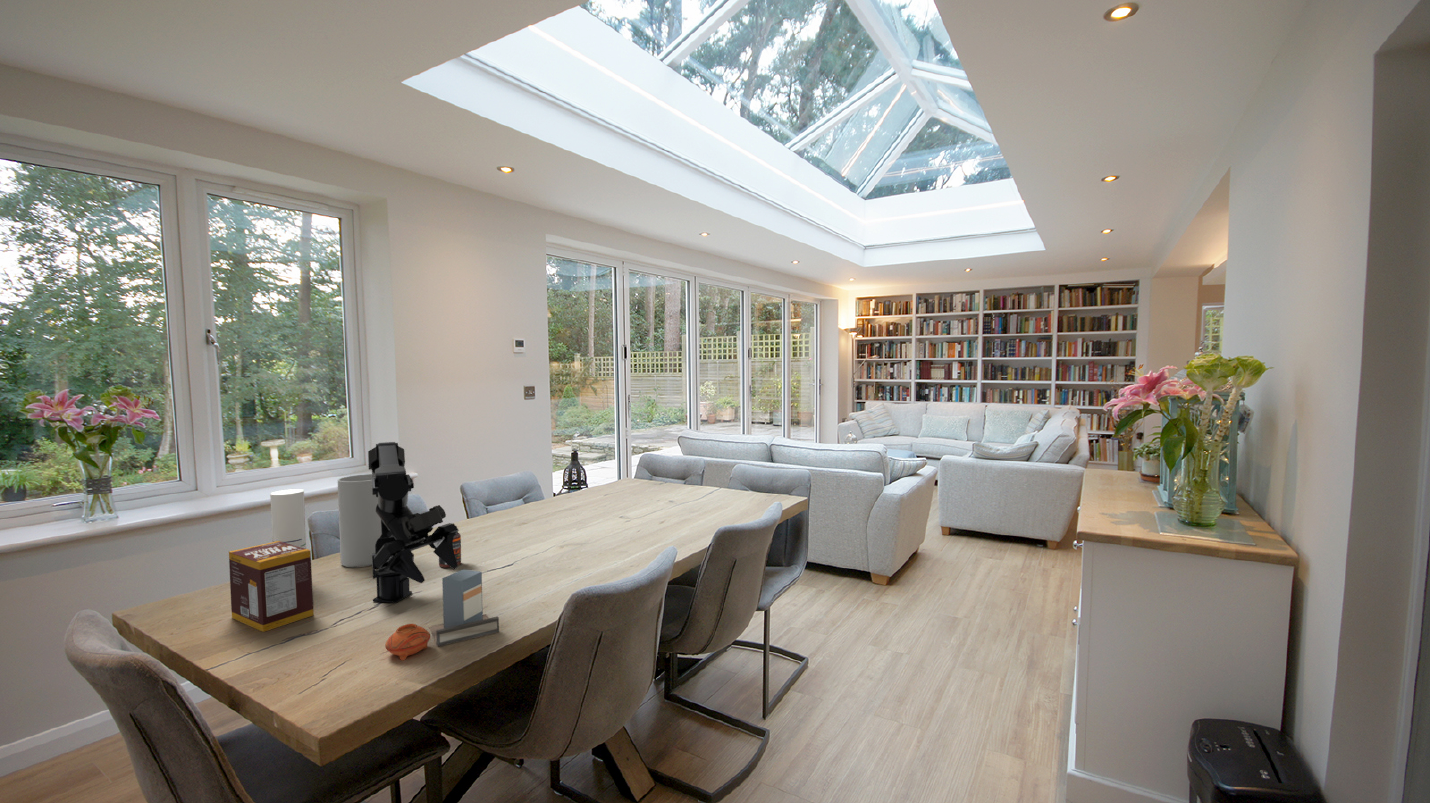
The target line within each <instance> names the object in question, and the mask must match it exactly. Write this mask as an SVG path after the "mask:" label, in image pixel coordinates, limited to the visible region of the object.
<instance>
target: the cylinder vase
mask: <svg viewBox="0 0 1430 803" xmlns="http://www.w3.org/2000/svg"><path fill="white" fill-rule="evenodd" d="M337 498H338V499H337V500H338V502H337V504H338V525H339V526H338V528H339V552H340V553H339V554H340V564H341V565H342V566H343V567H346V568H364V567H365V568H366V567H370V566H372V554H374V553H375V544H376V542H377V540H378V538H380V536H381V519H380V517H379V516H378V515H377V513H376V506H377V504H378V497H376V495H372V473H366V474H355V475H350V476H344V477H340V478H338V479H337Z"/></svg>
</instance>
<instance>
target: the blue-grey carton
mask: <svg viewBox="0 0 1430 803" xmlns="http://www.w3.org/2000/svg"><path fill="white" fill-rule="evenodd" d="M482 574H483V573H482V571H478V570H470V569H461V570H459V571H456V572H453V573H451V574H450V575H447V576H444V577H442V579H441V580H442V583H441V584H442V585H441V586H442V610H443V611H442V612H443V613H442V616H443V619H442V620H443V624H444V628H449V627H453V626H458V625H462V624H466V623H471V622H475V621H479V620H483V615H484V613H483V612H484V611H483V610H484V609H483V605H484V604H483V577H482V576H483V575H482Z"/></svg>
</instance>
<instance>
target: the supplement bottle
mask: <svg viewBox="0 0 1430 803" xmlns="http://www.w3.org/2000/svg"><path fill="white" fill-rule="evenodd" d="M455 526H456V527H457V528H458V526H457V525H455ZM453 550H454V554H455V558H456V561H457V565H458V566H460V565H461V563H462V538H461V533H460V532H459V531H458V532H457V533H456V536H455V538H454V539H453ZM438 565H439V567H440V568H443V569H444V568H446V569H447V568H448V569H449V568H451V567H450V566H449V565H448V564H446V563H445V562H444V561H443V560H442V559H441V558H440V557H438Z"/></svg>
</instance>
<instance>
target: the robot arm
mask: <svg viewBox="0 0 1430 803" xmlns="http://www.w3.org/2000/svg"><path fill="white" fill-rule="evenodd" d="M405 455H406V454H405V449H404V448H403V447H401V446H399V442H395V441H390V442H389V441H388V442H387V441H386V442H379V443H375V446H374V447H373V448H371V449H370V450H369V451H367V457H368V458H367V462H368V470H370V471H371V474H372V495H376V497H378V504H377V506H376V513H377V515H378V516H379V517H380V519H381V536H380V538H378V540H377V542H376V544H375V553H374V554H372V565H371V566H372V579H373V580H374V579H375V580H376V597H374V598H373V599H372V602H373V603H375V602H377V603H378V602H379V603H380V602H381V603H398V602H400V601H402V600H404V599H405V598H407V597H409V596H410V595H412V594H413V591H412V590H410V579H411V580H413V581H415V582H417V583H419V584H423V583H424V582H425V581H426V580H425V577H424V575H423V574H422V571H421V570H420V569H419V567H418V566H417V565H416V563H415V560H414V559H415V558H414V557H415V554H414V552H412V551H414V550H418V549H421V548H424V547H427V546H429V547H430V548H431V549H434V550H433V553H434V555H436V556H437V557H438V558H439V557H440V558H441V559H442V560H443V561H444V562H445V563H446V564H448V565H449V566H450V568H451V569H453V570H456V569H457V568H458V566H459V565H457V561H456V558H455V554H454V550H453V539H454V538H455V536H456V533H457V532H458V533H459V531H460V530H459V528H458V526H457V525H456V524H455V523H452V522H448V523H446V524H442V523H443V522H444V520H443V519H445V518H446V516H447V514H446V511H445V509H444V508H443V507H442V506H441V505H435V506H433V507H430V508H429V509H428V510H427V511H425V512H422V513H418V512H416V513H413V512H412V510H411V509H410V507H409V506H408V501H409V493H410V492H412V490H413V489H414V488H415V487H414V486H415V484H414V480H413V478H412V477H411V475H410V474H407V471H406V468H405V465H406V459H405V458H406V457H405ZM439 524H442V525H439ZM436 525H439V526H438V527H436V529H435V530H434V528H433V527H434V526H436ZM456 526H457V527H456ZM433 530H434V531H433ZM432 531H433V532H432ZM431 532H432V533H431ZM429 533H431V534H429Z"/></svg>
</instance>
